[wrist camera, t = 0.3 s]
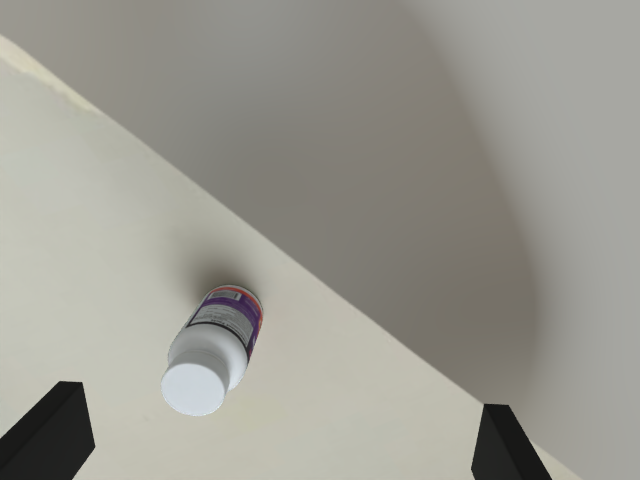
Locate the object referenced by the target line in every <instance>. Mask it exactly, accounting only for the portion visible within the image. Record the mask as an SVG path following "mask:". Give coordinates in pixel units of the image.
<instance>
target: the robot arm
mask: <svg viewBox="0 0 640 480" xmlns="http://www.w3.org/2000/svg"><path fill="white" fill-rule="evenodd" d="M94 448H95V443H94V438H93V433H92V428H91V423H90V418H89V413H88V408H87V403H86V398H85V393H84V388H83V383H82V382H67V381H59V382H58V383H57V384H56V385H55V386H54V387H53V388H52V389H51V390H50V391H49V392H48V393H47V394H46V395H45V396H44V397H43V398H42V399H41V400H40V401H39V402H38V403H37V404H36V405H35V406H34V407H32V408H31V409H30V410H29V411H28V412H27V413H26V414H25V415H24V416H23V417H22V418H21V419H20V420H19V421H18V422H17V423H16V424H15V425H14V426H13V427H12V428H11V429H10V430H9V431H8V432H7V433H6V434H5V435H4V436H3V437H2V438H1V439H0V480H72V479H73V478H74V476H75V475H76V473H77V472H78V471H79V469H80V468H81V466H82V465H83V464H84V462H85V461H86V460H87V458H88V457H89V455H90V454H91V453H92V451H93V450H94ZM471 470H472V473H473V476H474V478H475V480H552V478H551V477H550V475H549V473H548V472H547V470H546V468H545V467H544V465H543V463H542V461H541V460H540V458H539V456H538V455H537V453H536V451H535V449H534V448H533V446H532V444H531V443H530V441H529V439H528V437H527V436H526V434H525V432H524V431H523V429H522V427H521V425H520V424H519V422H518V421H517V419H516V417H515V415H514V413H513V412H512V410H511V408H510V407H509V405H499V404H484V407H483V412H482V417H481V422H480V427H479V432H478V437H477V442H476V447H475V452H474V457H473V462H472V467H471Z"/></svg>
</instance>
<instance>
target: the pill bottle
mask: <svg viewBox="0 0 640 480" xmlns="http://www.w3.org/2000/svg"><path fill="white" fill-rule="evenodd" d="M262 321H263V311H262V307H261V304H260V302H259V301H258V299H257V298H256V297H255V296H254V295H253V294H252V293H251V292H250V291H248V290H246V289H244V288H242V287H239V286H235V285H223V286H219V287H217V288H215V289H213V290H211V291H210V292H209V293H207V295H206V296H205V297H204V298H203V300H202V301H201V302H200V304H199V305H198V307H197V308H196V309H195V311H194V312H193V314H192V315H191V316H190V318H189V319H188V321H187V322H186V323H185V325H184V326H183V328H182V329H181V331H180V332H179V333H178V335H177V336H176V338H175V339H174V341H173V342H172V344H171V346H170V349H169V353H168V365H169V366H168V368H167V370H166V372H165V373H164V375H163V377H162V380H161V392H162V395H163V397H164V399H165V400H166V402H167V403H168V404H169V405H170V406H171V407H172V408H174V409H175V410H177V411H178V412H180V413H183V414H186V415H191V416H203V415H207V414H210V413H212V412H214V411H215V410H216V409H218V408H219V407H220V405H221V404H222V402H223V400H224V398H225V396H226V393H227V392H228V391H230V390H232V389H233V388H234V387H235V386H236V385H237V384H238V383H239V382H240V381H241V379H242V378H243V376H244V374H245V371H246V369H247V366H248V363H249V360H250V357H251V354H252V351H253V348H254V345H255V342H256V339H257V337H258V334H259V331H260V328H261V325H262Z"/></svg>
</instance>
